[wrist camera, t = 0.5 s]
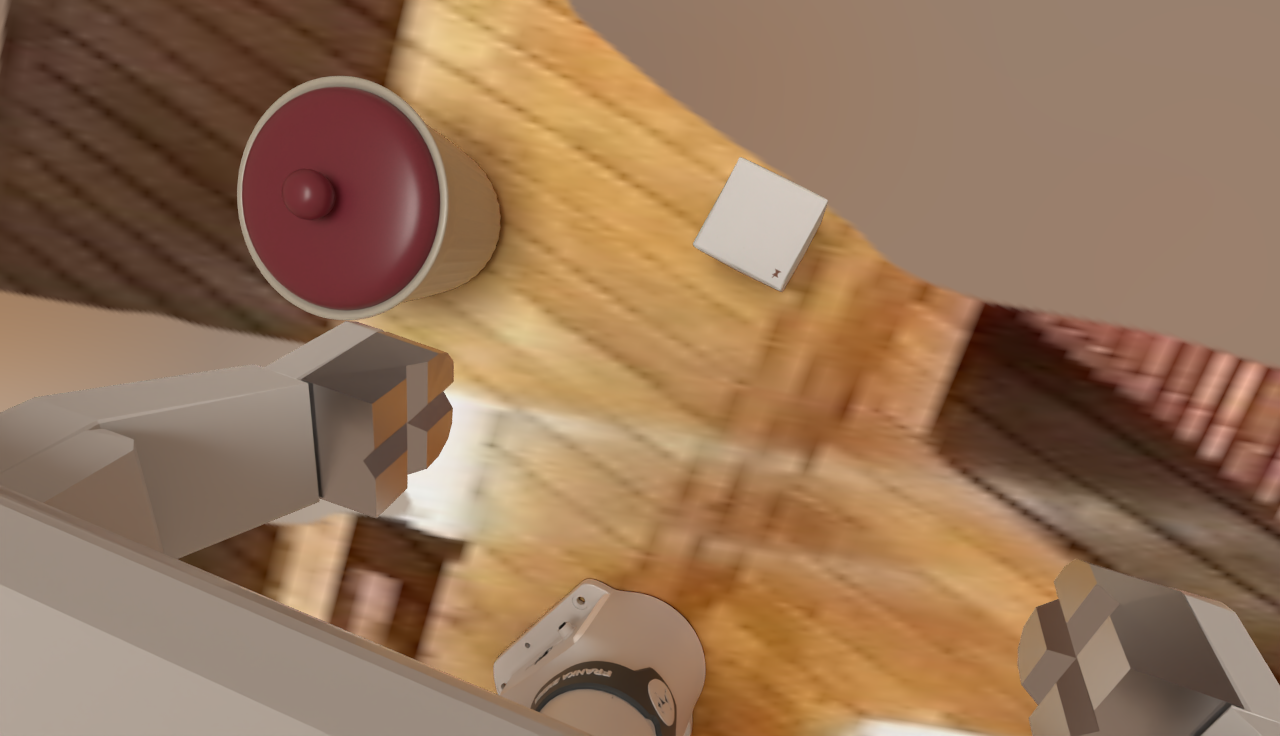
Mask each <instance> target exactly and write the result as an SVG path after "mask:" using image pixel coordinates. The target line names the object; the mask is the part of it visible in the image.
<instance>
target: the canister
mask: <svg viewBox="0 0 1280 736" xmlns="http://www.w3.org/2000/svg"><path fill="white" fill-rule="evenodd" d="M237 203H238V213H239V219H240V224H241V229H242V232H243V236H244V239H245V242H246V244H247V247H248V249H249V252H250V254H251V256H252V258H253V260H254V262H255V263H256V265H257V267H258V268H259V270H260V271H261V273H262V274H263V276H264V277H265V278H266V280H267V281H268V282H269V283H270V284H271V285H272V287H273V288H274V289H275V290H276V291H277V292H278V293H280V294H281V295H282V296H283V297H284V298H285V299H287V300H288V301H289V302H291V303H292V304H294V305H296V306H297V307H299V308H301V309H303V310H305V311H307V312H309V313H311V314H314V315H317V316H320V317H324V318H328V319H335V320H358V319H364V318H369V317H373V316H376V315H379V314H381V313H384V312H386V311H388V310H390V309H392V308H394V307H395V306H397V305H398V304H400V303H402V302H407V301H411V300H416V299H420V298H424V297H428V296H431V295H435V294H438V293H442V292H445V291H448V290H452V289H455V288H457V287H459V286H460V285H462V284H465V283H467V282H469V281H470V279H471V278H473V277H475V276H477V275H478V273H479V272H480V271H481V270H482V269H483V268H485V266H486V263H487V262H488V261H489V260H490V259H491V256H492V254H493V252H494V250H495V249H496V244H497V241H498V240H499V231H500V229H501V226H500V219H501V215H500V210H499V208H500V205H499V203H498V201H497V194H496V192H495V191H494V189H493V185H492V183H491V182H490V181H489V180H488V178H487V175H486V173H485V172H484V171H483V170H482V169H481V168H480V167H479V165H478V164H477V163H476V162H475V161H474V160H473V159H471V158H470V157H469V156H468V155H467V154H465V153H464V152H463V151H462V150H460V149H459V148H458V147H457V146H455V145H454V144H453V143H451V142H450V141H449V140H447V139H446V138H445V137H443V136H442V135H440V134H439V133H438V132H436V131H435V130H433V129H432V128H430V127H429V126H427V125H426V124H425V123H424V121H423V120H422V119H421V117H420V116H419V115H418V114H417V113H416V111H415V110H414V109H413V108H412V107H411V106H410V105H409V104H408V103H407V102H405V101H404V100H403V99H402V98H400V97H399V96H398V95H396V94H395V93H393V92H392V91H390V90H389V89H387V88H385V87H383V86H381V85H379V84H376V83H374V82H371V81H368V80H365V79H361V78H357V77H350V76H329V77H323V78H318V79H314V80H311V81H308V82H306V83H303V84H301V85H299V86H297V87H295V88H293V89H292V90H290V91H289V92H287V93H286V94H284V95H283V96H282V97H280V98H279V99H278V100H277V101H276V102H275V103H274V104H273V105H272V106H271V107H270V108H269V109H268V110H267V111H266V112H265V114H264V115H263V116H262V117H261V119H260V120H259V122H258V123H257V125H256V126H255V128H254V130H253V132H252V134H251V136H250V138H249V140H248V142H247V145H246V147H245V150H244V153H243V157H242V160H241V164H240V169H239V176H238V186H237Z"/></svg>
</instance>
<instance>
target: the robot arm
mask: <svg viewBox="0 0 1280 736" xmlns="http://www.w3.org/2000/svg"><path fill="white" fill-rule="evenodd" d="M453 382H454V363H453V360H452V358H451V357H450V356H449V354H448V353H446V352H443V351H441V350H438V349H435V348H432V347H429V346H426V345H423V344H421V343H418V342H415V341H412V340H409V339H406V338H403V337H401V336H398V335H395V334H392V333H389V332H384V331H383V330H381V329H378V328H374V327H371V326H368V325H365V324H362V323H359V322H349V321H346V322H344V323H342V324H340V325H339V326H337V327H335V328H333V329H331V330H330V331H328V332H326V333H324V334H322V335H321V336H319V337H317V338H315V339H314V340H312V341H310V342H308V343H306V344H305V345H303V346H301V347H299V348H298V349H296V350H294V351H292V352H290V353H289V354H287V355H285V356H283V357H282V358H280V359H278V360H276V361H274V362H273V363H271V364H269V365H267V366H265V367H261V366H258V365H255V364H252V365H245V366H239V367H232V368H226V369H219V370H212V371H206V372H199V373H192V374H186V375H179V376H173V377H166V378H160V379H153V380H146V381H140V382H133V383H127V384H120V385H113V386H107V387H100V388H93V389H87V390H80V391H74V392H67V393H60V394H54V395H47V396H41V397H34V398H32V399H30V400H27V401H25V402H23V403H21V404H18V405H16V406H14V407H12V408H9V409H7V410H5V411H3V412H0V736H691V733H692V712H693V709H694V706H695V704H696V702H697V700H698V698H699V696H700V694H701V691H702V689H703V685H704V681H705V671H706V667H705V658H704V653H703V649H702V646H701V643H700V641H699V639H698V637H697V635H696V633H695V631H694V630H693V628H692V627H691V625H690V624H689V623H688V622H687V620H686V619H685V618H684V617H683V616H682V615H681V614H680V613H679V612H677V611H676V610H675V609H674V608H672V607H671V606H670V605H668V604H666V603H665V602H663V601H661V600H659V599H657V598H654V597H652V596H649V595H645V594H641V593H636V592H626V591H619V590H615V589H613V588H611V587H609V586H607V585H606V584H604V583H602V582H599V581H597V580H594V579H586V580H584V581H582V582H581V583H580V584H579V585H578V586H576V587H575V588H574V589H573V590H572V591H571V592H570V593H569V594H567V595H566V596H565V597H564V598H563V599H562V600H561V601H560V602H559V603H557V604H556V605H555V606H554V607H553V608H552V609H551V610H550V611H548V612H547V613H546V614H545V615H544V616H543V617H542V618H541V619H540V620H538V621H537V622H536V623H535V624H534V625H533V626H532V627H531V628H529V629H528V630H527V631H526V632H525V633H524V634H523V635H522V636H521V637H519V638H518V639H517V640H516V641H515V642H514V643H513V644H512V645H510V646H509V647H508V648H507V649H506V650H505V651H504V652H503V653H502V654H501V655H500V656H499V657H498V658H497V659H496V661H495V663H494V681H495V685H496V689H497V693H498V695H497V694H495V693H492V692H490V691H488V690H485V689H483V688H481V687H478V686H476V685H473V684H471V683H469V682H466V681H464V680H462V679H459V678H457V677H455V676H452V675H450V674H447V673H445V672H443V671H440V670H438V669H436V668H433V667H431V666H428V665H426V664H424V663H421V662H419V661H417V660H414V659H412V658H410V657H407V656H405V655H402V654H400V653H398V652H395V651H393V650H391V649H388V648H386V647H384V646H381V645H379V644H376V643H374V642H372V641H369V640H367V639H365V638H362V637H360V636H357V635H355V634H353V633H350V632H348V631H346V630H343V629H341V628H339V627H336V626H334V625H331V624H329V623H327V622H324V621H322V620H320V619H317V618H315V617H313V616H310V615H308V614H305V613H303V612H301V611H298V610H296V609H294V608H291V607H289V606H286V605H284V604H282V603H279V602H277V601H275V600H272V599H270V598H267V597H265V596H263V595H260V594H258V593H256V592H253V591H251V590H248V589H246V588H244V587H241V586H239V585H237V584H234V583H232V582H229V581H227V580H225V579H222V578H220V577H218V576H215V575H213V574H211V573H208V572H206V571H203V570H201V569H199V568H196V567H194V566H192V565H189V564H187V563H184V562H182V561H180V560H177V559H178V558H181V557H183V556H186V555H188V554H191V553H193V552H196V551H198V550H201V549H203V548H206V547H208V546H211V545H213V544H215V543H218V542H220V541H223V540H225V539H228V538H230V537H233V536H235V535H238V534H240V533H243V532H245V531H248V530H250V529H253V528H255V527H258V526H260V525H263V524H265V523H268V522H270V521H273V520H275V519H278V518H280V517H282V516H285V515H288V514H290V513H293V512H295V511H297V510H300V509H302V508H305V507H307V506H310V505H312V504H315V503H317V502H319V498H320V499H323V500H326V501H329V502H331V503H334V504H337V505H340V506H343V507H346V508H349V509H351V510H354V511H357V512H360V513H363V514H366V515H369V516H371V517H374V518H377V517H379V516H380V515H381V514H382V513H383V512H384V511H385V510H386V509H387V508H388V507H389V506H390V505H391V504H392V503H393V502H394V501H395V500H396V499H397V498H398V497H399V496H400V495H401V494H402V493H403V492H404V491H405V490H406V489H407V475H408V474H411V473H414V472H418V471H421V470H424V469H427V468H428V467H429V466H430V465H431V464H432V463H433V461H434V460H435V459H436V458H437V457H438V456H439V454H440V452H441V451H442V449H443V447H444V445H445V443H446V441H447V439H448V437H449V433H450V429H451V425H452V412H453V408H452V406H451V404H450V402H449V401H448V399H447V397H446V395H445V393H444V392H443V391H444V390H445V389H446V388H447V387H448V386H450V385H451V384H452V383H453ZM1054 584H1055V588H1056V591H1057V595H1058V599H1057V600H1055V601H1052V602H1049V603H1046V604H1044V605H1041V606H1038V607H1036V608H1035V610H1034V611H1033V613H1032V614H1031V616H1030V618H1029V619H1028V621H1027V622H1026V624H1025V626H1024V628H1023V632H1022V635H1021V639H1020V643H1019V647H1018V669H1019V674H1020V679H1021V685H1022V686H1023V687H1024V688H1025V690H1026V691H1027V692H1028V693H1029V694H1030V696H1031V697H1032V698H1033V699H1034V701H1035V702H1036V703H1037V704H1038V707H1037V708H1036V710H1035V711H1034V712H1033V714H1032V715H1031V716H1030V717H1029V722H1030V726H1031V731H1032V735H1033V736H1280V685H1279V684H1278V682H1277V680H1276V679H1275V677H1274V675H1273V674H1272V672H1271V670H1270V669H1269V667H1268V666H1267V664H1266V662H1265V661H1264V659H1263V657H1262V656H1261V654H1260V652H1259V651H1258V649H1257V648H1256V646H1255V644H1254V643H1253V641H1252V639H1251V638H1250V636H1249V634H1248V633H1247V631H1246V629H1245V628H1244V626H1243V625H1242V623H1241V621H1240V620H1239V618H1238V616H1237V615H1236V613H1235V612H1234V611H1233V610H1231V609H1230V608H1229V607H1227V606H1226V605H1225V604H1223V603H1222V602H1219V601H1216V600H1212V599H1209V598H1206V597H1202V596H1199V595H1195V594H1192V593H1189V592H1185V591H1182V590H1178V589H1175V588H1169V587H1165V586H1162V585H1159V584H1156V583H1152V582H1149V581H1146V580H1143V579H1140V578H1136V577H1133V576H1130V575H1127V574H1124V573H1120V572H1117V571H1114V570H1111V569H1108V568H1104V567H1101V566H1098V565H1095V564H1091V563H1088V562H1085V561H1082V560H1079V559H1075V560H1073V561H1072V562H1071V563H1069V564H1068V565H1066V566H1065V567H1064V568H1063V570H1062V571H1061V572H1060V574H1059V575H1058V576H1057V578H1056V579H1055V581H1054ZM579 597H583V598H584V599H585V602H582V601H580V599H579ZM504 683H506V685H504Z"/></svg>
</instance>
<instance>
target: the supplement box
mask: <svg viewBox="0 0 1280 736" xmlns="http://www.w3.org/2000/svg"><path fill="white" fill-rule="evenodd" d="M827 203H828V200H827V199H825V198H824V197H822V196H820V195H818V194H816V193H814V192H812V191H810V190H808V189H806V188H804V187H802V186H800V185H798V184H796V183H794V182H792V181H790V180H788V179H786V178H784V177H782V176H780V175H778V174H776V173H773V172H771V171H769V170H767V169H765V168H763V167H761V166H759V165H757V164H755V163H753V162H751V161H749V160H746V159H744V158H742V157H740V158H739V160H738V162H737V164H736V166H735V167H734V169H733V171H732V173H731V175H730V177H729V179H728V180H727V182H726V184H725V186H724V188H723V190H722V191H721V193H720V195H719V197H718V199H717V201H716V202H715V204H714V206H713V208H712V210H711V211H710V213H709V215H708V217H707V219H706V221H705V222H704V224H703V226H702V228H701V230H700V232H699V233H698V235H697V237H696V239H695V241H694V243H693V245H694V247H696V248H697V249H698V250H700V251H702V252H704V253H705V254H707V255H709V256H711V257H713V258H715V259H716V260H718V261H720V262H722V263H724V264H725V265H727V266H729V267H731V268H733V269H735V270H737V271H739V272H741V273H743V274H745V275H747V276H749V277H751V278H753V279H755V280H757V281H759V282H761V283H763V284H765V285H767V286H770V287H772V288H774V289H776V290H778V291H780V292H782V291H783V290H784V289H785V287H786V285H787V284H788V282H789V280H790V278H791V277H792V275H793V273H794V272H795V270H796V268H797V266H798V265H799V263H800V261H801V260H802V258H803V256H804V254H805V252H806V251H807V249H808V247H809V245H810V243H811V241H812V239H813V237H814V235H815V233H816V231H817V230H818V228H819V226H820V224H821V222H822V218H823V215H824V212H825V210H826V206H827Z"/></svg>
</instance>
